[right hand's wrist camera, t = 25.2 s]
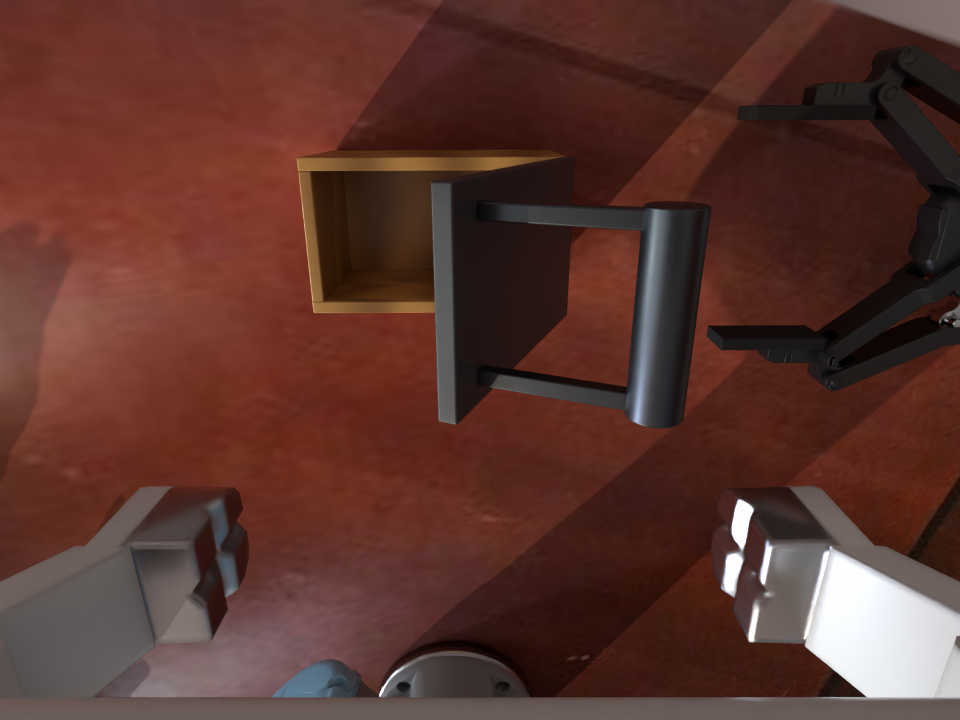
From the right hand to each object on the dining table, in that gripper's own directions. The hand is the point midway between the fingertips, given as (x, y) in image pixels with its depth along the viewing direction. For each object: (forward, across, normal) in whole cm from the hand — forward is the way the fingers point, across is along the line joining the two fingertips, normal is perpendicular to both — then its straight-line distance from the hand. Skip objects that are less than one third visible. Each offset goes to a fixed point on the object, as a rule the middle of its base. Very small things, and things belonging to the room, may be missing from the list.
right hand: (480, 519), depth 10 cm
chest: (+36, -3, 0) cm, 36 cm away
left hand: (+29, +15, 0) cm, 33 cm away
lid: (+20, +1, 0) cm, 20 cm away
